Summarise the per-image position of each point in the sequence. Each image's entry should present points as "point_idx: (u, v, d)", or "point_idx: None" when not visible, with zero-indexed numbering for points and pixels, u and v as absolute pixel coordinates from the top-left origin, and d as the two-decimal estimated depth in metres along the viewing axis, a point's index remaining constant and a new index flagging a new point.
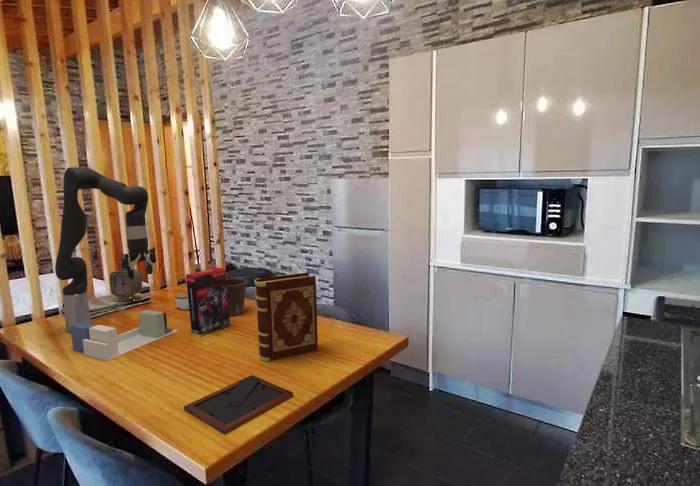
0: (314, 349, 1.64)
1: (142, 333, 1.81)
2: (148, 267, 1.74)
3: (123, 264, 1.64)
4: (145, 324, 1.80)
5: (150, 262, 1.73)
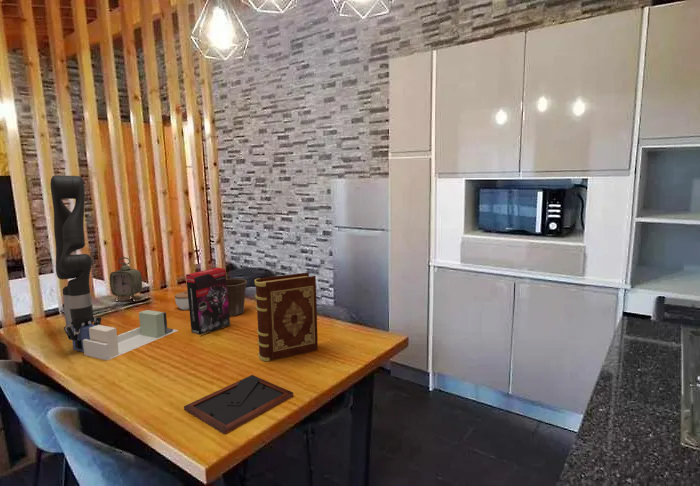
0: (314, 349, 1.64)
1: (142, 333, 1.81)
2: None
3: (69, 336, 1.62)
4: (145, 324, 1.80)
5: None
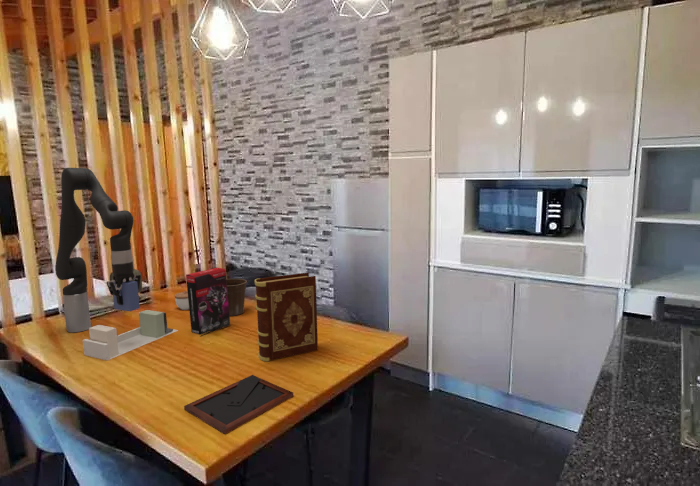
0: (314, 349, 1.64)
1: (142, 333, 1.81)
2: None
3: (111, 291, 1.64)
4: (145, 324, 1.80)
5: None
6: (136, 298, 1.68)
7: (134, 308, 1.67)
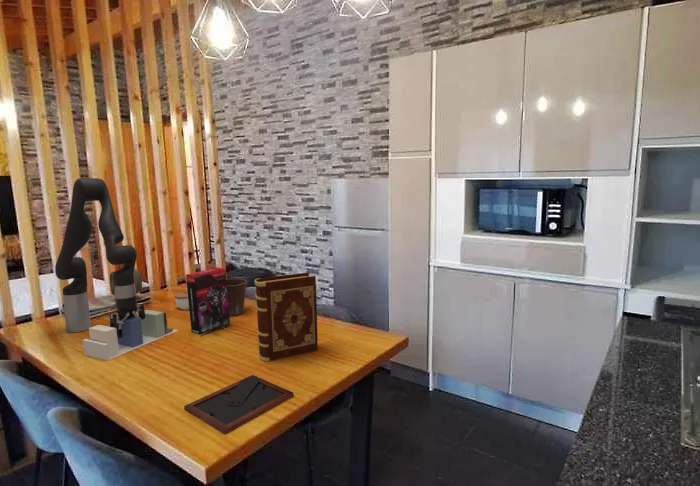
0: (314, 349, 1.64)
1: (142, 333, 1.81)
2: None
3: (111, 324, 1.65)
4: (145, 324, 1.80)
5: None
6: (140, 333, 1.70)
7: (138, 344, 1.70)
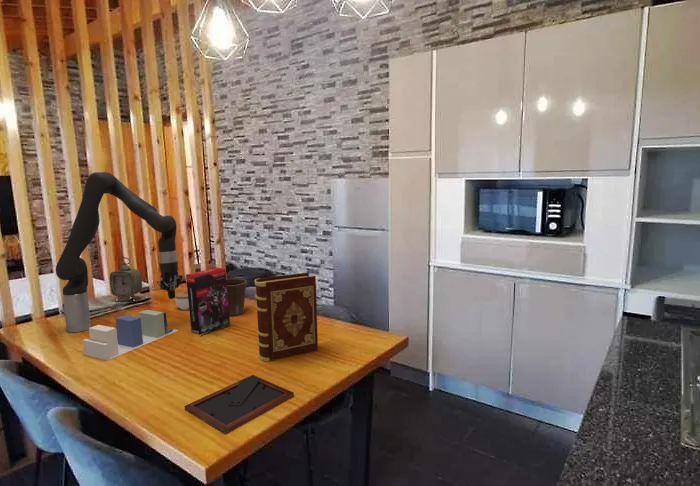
0: (314, 349, 1.64)
1: (142, 333, 1.81)
2: None
3: None
4: (145, 324, 1.80)
5: (174, 286, 1.89)
6: (140, 333, 1.70)
7: (138, 344, 1.70)
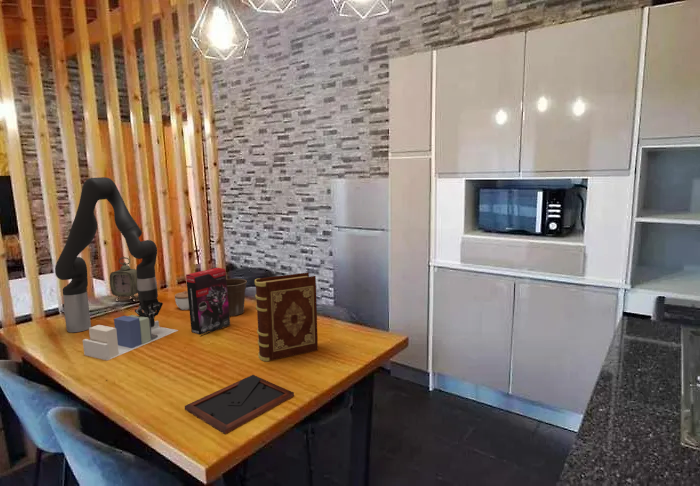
0: (314, 349, 1.64)
1: None
2: None
3: (141, 316, 1.77)
4: None
5: (153, 314, 1.80)
6: (138, 334, 1.70)
7: (136, 344, 1.69)
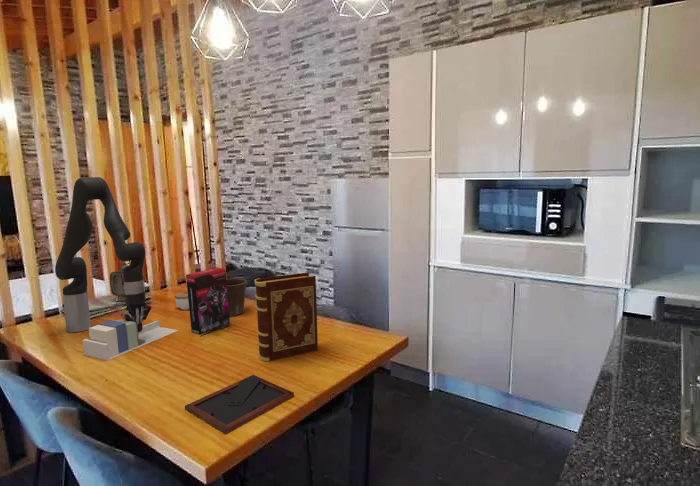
0: (314, 349, 1.64)
1: None
2: None
3: (128, 320, 1.71)
4: None
5: (141, 319, 1.75)
6: (125, 339, 1.64)
7: (122, 350, 1.64)
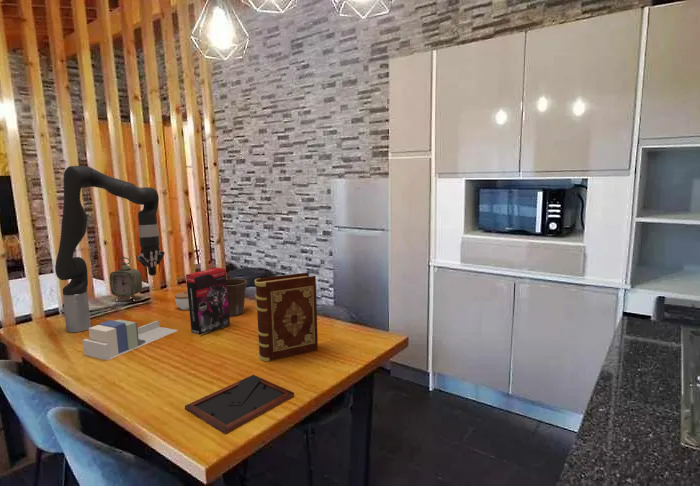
0: (314, 349, 1.64)
1: None
2: None
3: (143, 263, 1.76)
4: None
5: (155, 263, 1.79)
6: (124, 339, 1.64)
7: (122, 350, 1.64)
